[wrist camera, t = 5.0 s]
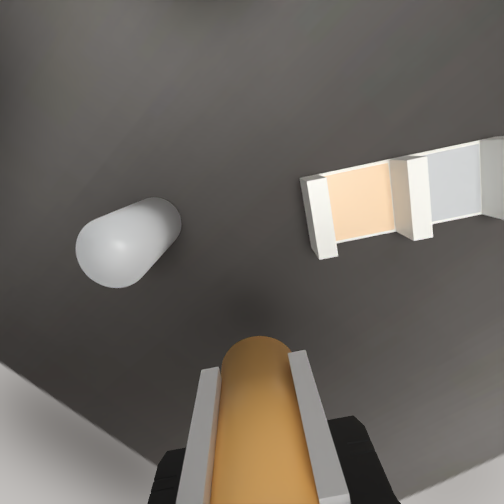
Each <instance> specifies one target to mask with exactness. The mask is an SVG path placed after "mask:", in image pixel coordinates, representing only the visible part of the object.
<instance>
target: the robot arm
mask: <svg viewBox="0 0 504 504" xmlns="http://www.w3.org/2000/svg"><path fill="white" fill-rule="evenodd" d="M288 357H289V362H290V367H291V372H292V376H293V381H294V386H295V390H296V395H297V400H298V405H299V409H300V414H301V419H302V423H303V428H304V433H305V437H306V442H307V447H308V451H309V456H310V461H311V466H312V470H313V475H314V480H315V484H316V489H317V494H318V498H319V503H320V504H401V503H400V502H399V501H398V500H397V498H396V496H395V495H394V493H393V491H392V488H391V486H390V484H389V481H388V479H387V477H386V475H385V472H384V470H383V468H382V465H381V463H380V461H379V458H378V456H377V454H376V452H375V449H374V447H373V445H372V442H371V441H370V438H369V435H368V433H367V431H366V429H365V426H364V425H363V424H362V423H361V422H360V421H359V420H358V419H357V418H356V417H354V416H348V417H343V418H337V419H332V420H327V419H326V416H325V413H324V410H323V406H322V403H321V400H320V396H319V393H318V390H317V387H316V383H315V380H314V377H313V374H312V370H311V367H310V364H309V360H308V357H307V354H306V351H305V350H301V351H296V352H291V353H288ZM221 384H222V377H221V373H220V370H219V367H214V368H208V369H203V370H201V375H200V380H199V385H198V390H197V395H196V401H195V406H194V411H193V416H192V421H191V426H190V432H189V437H188V442H187V447H186V448H182V449H176V450H171V451H167V452H166V454H165V455H164V457H163V458H162V460H161V461H160V463H159V464H158V467H157V471H156V475H155V478H154V483H153V486H152V489H151V494H150V497H149V501H148V504H210V496H211V486H212V476H213V466H214V456H215V445H216V435H217V425H218V415H219V405H220V395H221Z"/></svg>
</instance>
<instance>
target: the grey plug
mask: <svg viewBox="0 0 504 504" xmlns="http://www.w3.org/2000/svg"><path fill="white" fill-rule="evenodd" d="M181 226H182V222H181V217H180V214H179V212H178V210H177V209H176V207H175V206H174V205H173V204H172V203H170V202H169V201H167V200H165V199H163V198H159V197H149V198H146V199H143V200H141V201H138V202H136V203H134V204H131V205H129V206H126V207H124V208H121V209H119V210H116V211H114V212H112V213H109V214H107V215H104V216H102V217H99V218H97V219H95V220H92V221H91V222H89V223H88V224H87V225H85V226H84V228H83V229H82V230H81V232H80V233H79V235H78V238H77V241H76V256H77V260H78V262H79V265H80V267H81V268H82V270H83V271H84V272H85V274H86V275H87V276H88V277H89V278H91V279H92V280H93V281H95V282H96V283H98V284H100V285H103V286H106V287H111V288H122V287H127V286H130V285H132V284H134V283H136V282H137V281H138V280H140V279H141V278H142V277H143V276H144V274H145V273H146V272H147V271H148V270H149V269H150V268H151V267H152V266H153V264H154V263H155V262H156V261H157V260H158V259H159V258H160V257H161V256H162V254H163V253H164V252H165V251H166V250H167V249H168V248H169V247H170V246H171V244H172V243H173V242H174V241H175V240H176V239H177V237H178V236H179V234H180V231H181Z"/></svg>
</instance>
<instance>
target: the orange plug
mask: <svg viewBox="0 0 504 504" xmlns="http://www.w3.org/2000/svg"><path fill="white" fill-rule="evenodd" d="M288 353H291V350H290V349H289V348H288V347H287V346H286V345H285V344H283V343H282V342H280V341H278V340H276V339H274V338H271V337H266V336H254V337H249V338H246V339H243V340H241V341H239V342H237V343H236V344H235V345H233V346H232V347H231V348H230V349H229V350H228V352H227V353H226V355H225V357H224V359H223V362H222V368H221V377H222V384H221V395H220V405H219V415H218V425H217V435H216V445H215V456H214V466H213V476H212V486H211V496H210V504H320V503H319V498H318V494H317V489H316V484H315V480H314V475H313V470H312V466H311V461H310V456H309V451H308V447H307V442H306V437H305V433H304V428H303V423H302V419H301V414H300V409H299V405H298V400H297V395H296V390H295V386H294V381H293V376H292V372H291V367H290V362H289V357H288Z"/></svg>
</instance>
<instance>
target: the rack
mask: <svg viewBox="0 0 504 504" xmlns="http://www.w3.org/2000/svg"><path fill="white" fill-rule="evenodd" d="M300 184H301V190H302V196H303V202H304V208H305V214H306V220H307V226H308V232H309V237H310V243H311V248H312V249H313V251H314V252H315V254H316V255H317V257H318V258H319V260H321V259H326V258H331V257H336V256H338V252H337V245H336V243H341V242H346V241H351V240H356V239H361V238H366V237H371V236H376V235H381V234H386V233H391V232H398V233H400V234H402V235H404V236H406V237H407V238H409V239H411V240H413V241H416V240H421V239H426V238H431V237H433V229H432V224H435V223H440V222H445V221H450V220H455V219H460V218H465V217H470V216H475V215H480V214H484V215H487V216H491V217H495V218H499V219H502V220H504V136H498V137H491V138H487V139H482V140H477V141H472V142H468V143H463V144H458V145H453V146H449V147H444V148H439V149H434V150H430V151H425V152H420V153H415V154H411V155H406V156H401V157H396V158H392V159H387V160H382V161H377V162H373V163H368V164H363V165H358V166H354V167H349V168H344V169H339V170H335V171H330V172H325V173H320V174H316V175H311V176H306V177H301V178H300Z"/></svg>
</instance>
